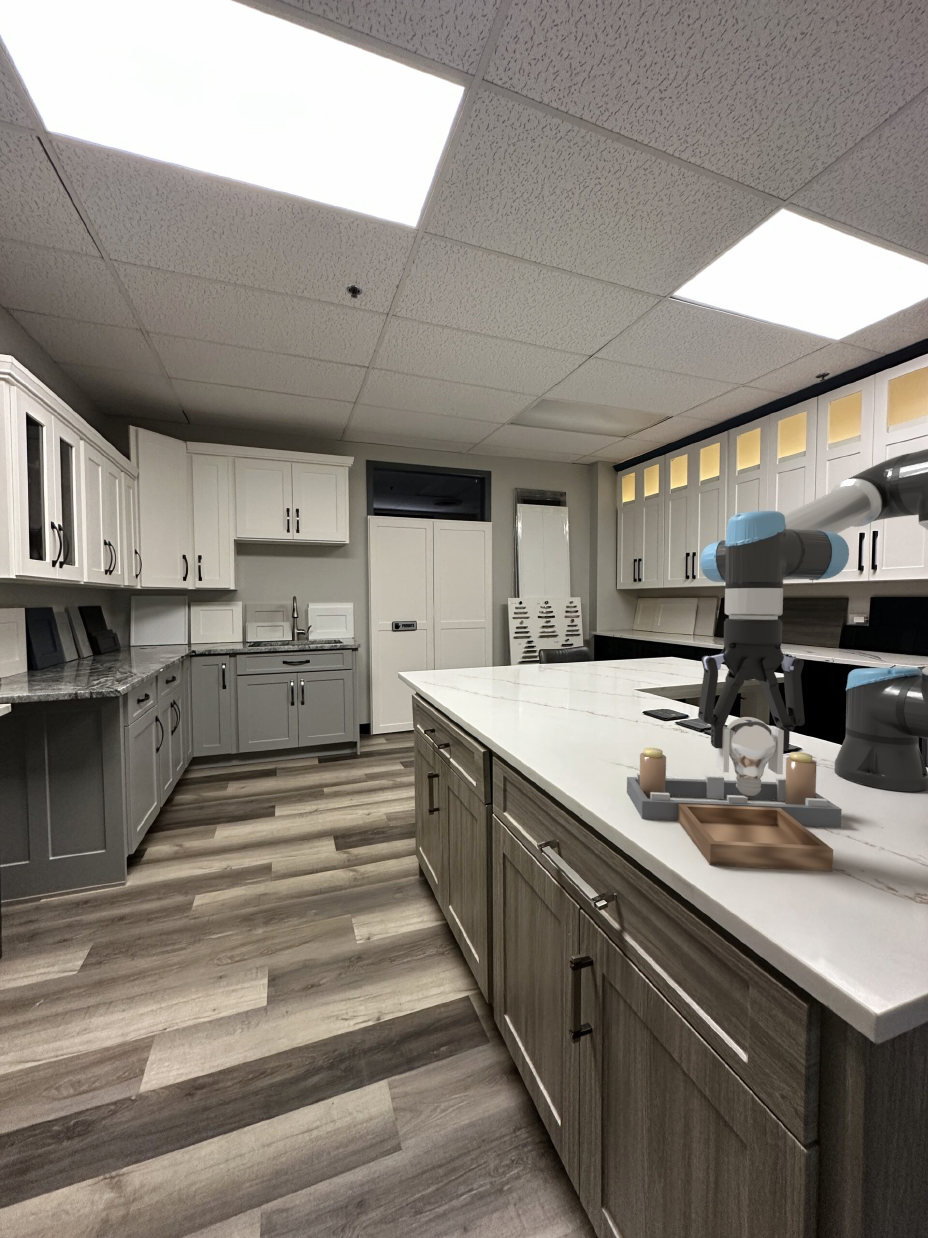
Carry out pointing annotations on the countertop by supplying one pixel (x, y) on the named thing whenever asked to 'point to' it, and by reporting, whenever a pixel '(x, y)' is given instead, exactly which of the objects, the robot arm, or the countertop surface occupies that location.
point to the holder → (728, 799)
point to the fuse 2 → (800, 778)
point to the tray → (753, 838)
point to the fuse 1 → (652, 771)
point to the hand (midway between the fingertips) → (748, 770)
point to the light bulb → (750, 752)
